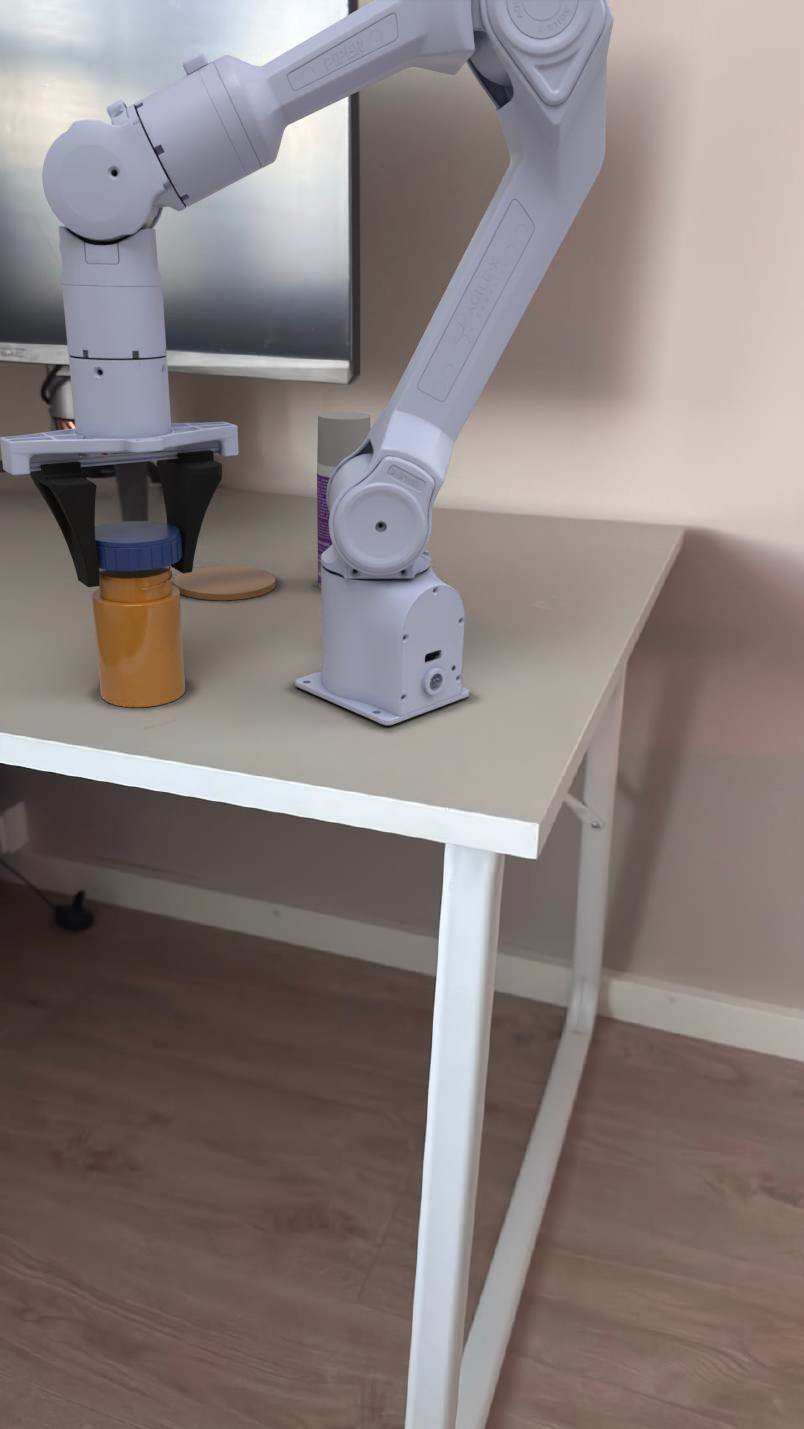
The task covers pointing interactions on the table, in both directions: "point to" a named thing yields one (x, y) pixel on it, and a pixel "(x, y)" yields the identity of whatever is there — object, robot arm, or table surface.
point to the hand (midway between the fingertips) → (135, 576)
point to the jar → (139, 637)
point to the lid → (137, 545)
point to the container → (334, 461)
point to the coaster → (225, 583)
